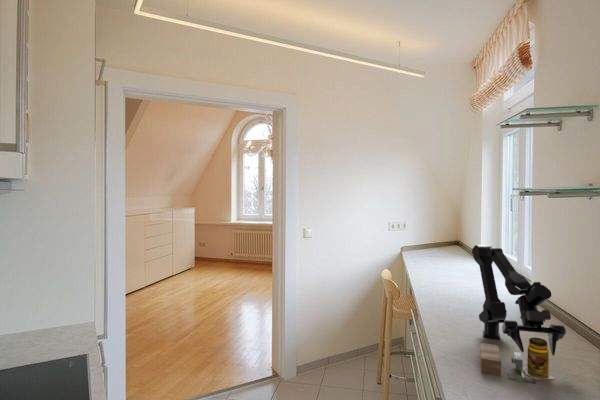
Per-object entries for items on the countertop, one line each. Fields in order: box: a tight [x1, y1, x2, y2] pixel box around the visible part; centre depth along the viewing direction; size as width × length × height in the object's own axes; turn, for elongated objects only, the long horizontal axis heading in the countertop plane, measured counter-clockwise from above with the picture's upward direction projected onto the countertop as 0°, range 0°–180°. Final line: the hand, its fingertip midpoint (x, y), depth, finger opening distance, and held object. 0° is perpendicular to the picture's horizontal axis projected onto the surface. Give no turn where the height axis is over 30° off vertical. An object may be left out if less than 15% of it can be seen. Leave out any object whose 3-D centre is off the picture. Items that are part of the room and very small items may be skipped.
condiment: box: [522, 337, 556, 380], centre depth 128 cm, size 7×8×12 cm
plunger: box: [510, 351, 524, 379], centre depth 129 cm, size 11×3×4 cm, turn 156°
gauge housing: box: [479, 342, 537, 384], centre depth 131 cm, size 15×16×5 cm
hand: (538, 353), depth 127 cm, fingers open, 9 cm apart
